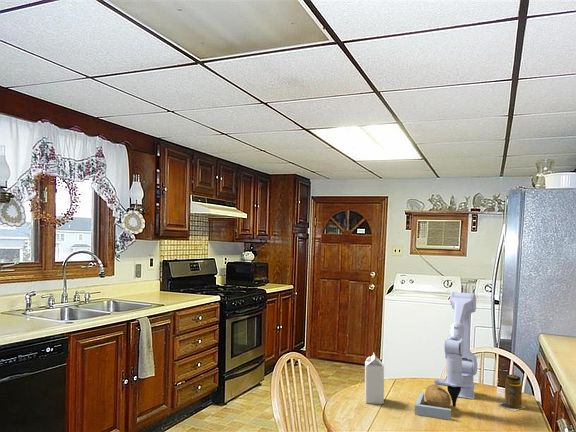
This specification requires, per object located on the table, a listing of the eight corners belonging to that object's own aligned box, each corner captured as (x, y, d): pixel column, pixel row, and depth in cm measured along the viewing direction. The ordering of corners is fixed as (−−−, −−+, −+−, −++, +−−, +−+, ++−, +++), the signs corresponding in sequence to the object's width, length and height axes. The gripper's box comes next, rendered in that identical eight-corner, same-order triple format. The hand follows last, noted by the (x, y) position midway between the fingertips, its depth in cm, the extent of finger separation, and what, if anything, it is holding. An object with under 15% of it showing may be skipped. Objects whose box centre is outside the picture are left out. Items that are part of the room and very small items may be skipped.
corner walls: (420, 400, 192) (420, 392, 192) (453, 405, 187) (453, 396, 187) (414, 414, 177) (414, 405, 178) (450, 420, 172) (450, 410, 173)
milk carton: (381, 398, 195) (382, 352, 196) (383, 404, 188) (383, 356, 189) (364, 397, 196) (365, 351, 196) (365, 403, 188) (366, 356, 189)
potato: (431, 415, 177) (431, 394, 177) (420, 402, 191) (420, 382, 191) (457, 415, 177) (456, 393, 177) (444, 402, 191) (444, 382, 191)
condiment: (526, 407, 186) (526, 377, 187) (514, 411, 182) (514, 380, 182) (509, 401, 193) (508, 372, 193) (497, 405, 188) (496, 375, 188)
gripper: (433, 371, 181) (433, 406, 181) (473, 375, 176) (474, 412, 175) (435, 366, 188) (435, 400, 187) (474, 370, 182) (474, 406, 182)
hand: (454, 405), depth 182 cm, fingers closed
